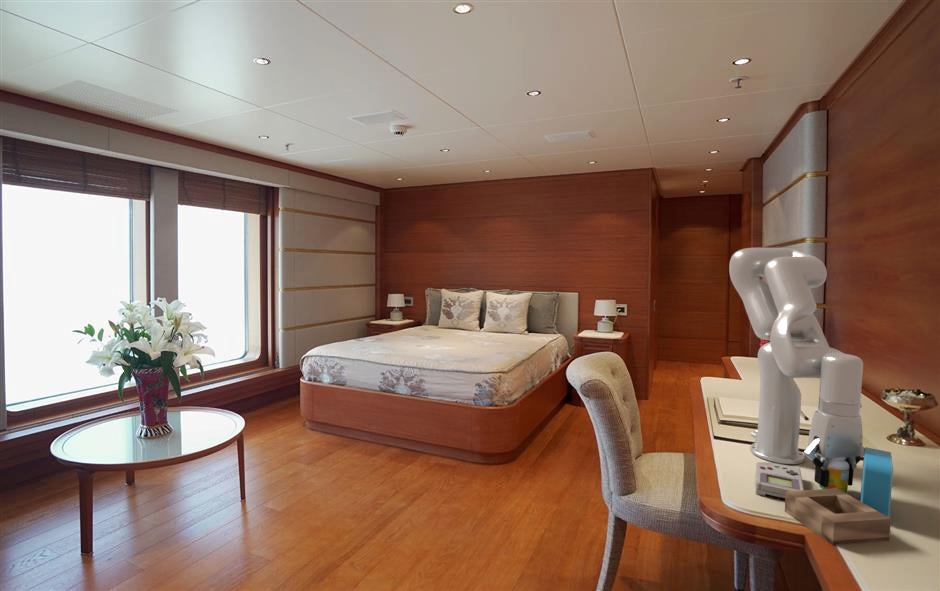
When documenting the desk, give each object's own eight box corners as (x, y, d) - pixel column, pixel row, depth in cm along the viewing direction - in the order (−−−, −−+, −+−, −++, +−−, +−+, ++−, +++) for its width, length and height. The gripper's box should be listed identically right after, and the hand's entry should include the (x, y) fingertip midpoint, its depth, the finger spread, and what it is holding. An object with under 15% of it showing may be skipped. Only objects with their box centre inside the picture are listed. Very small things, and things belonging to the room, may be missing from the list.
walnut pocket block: (784, 511, 103) (785, 491, 103) (835, 508, 105) (836, 488, 104) (832, 544, 91) (834, 522, 91) (889, 540, 93) (890, 518, 92)
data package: (860, 495, 110) (864, 444, 109) (886, 502, 108) (890, 450, 106) (860, 517, 101) (864, 462, 100) (888, 525, 98) (893, 468, 97)
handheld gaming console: (800, 466, 118) (804, 491, 105) (799, 480, 119) (803, 507, 106) (756, 457, 123) (756, 481, 110) (755, 471, 123) (755, 496, 111)
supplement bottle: (812, 487, 114) (815, 447, 113) (829, 484, 116) (832, 445, 115) (835, 498, 109) (839, 457, 108) (853, 495, 111) (856, 454, 110)
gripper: (857, 401, 115) (851, 474, 117) (791, 403, 113) (787, 478, 115) (887, 411, 108) (881, 489, 109) (818, 414, 106) (812, 493, 107)
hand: (833, 482), depth 112 cm, fingers closed on supplement bottle, 5 cm apart
